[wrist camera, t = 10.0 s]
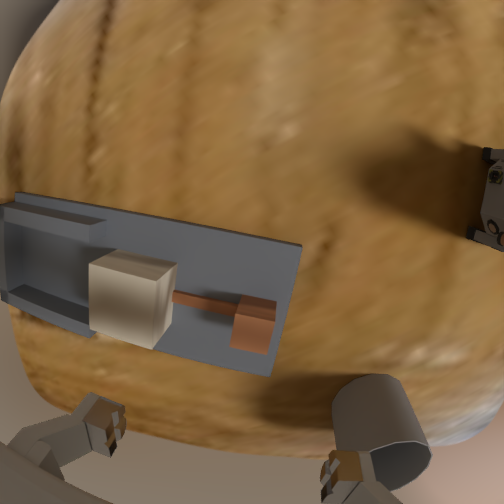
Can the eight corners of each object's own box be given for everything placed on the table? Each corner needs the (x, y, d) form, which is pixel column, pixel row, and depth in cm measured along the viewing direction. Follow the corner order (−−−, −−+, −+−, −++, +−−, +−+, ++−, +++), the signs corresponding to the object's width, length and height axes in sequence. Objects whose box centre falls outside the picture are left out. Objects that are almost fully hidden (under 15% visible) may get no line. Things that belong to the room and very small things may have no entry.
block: (118, 248, 28) (88, 263, 23) (280, 285, 27) (279, 309, 22) (115, 307, 29) (89, 329, 24) (266, 345, 28) (262, 377, 23)
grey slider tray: (20, 191, 28) (-4, 195, 25) (301, 244, 27) (304, 256, 23) (22, 296, 32) (2, 308, 28) (270, 371, 30) (268, 396, 26)
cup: (379, 434, 31) (396, 497, 21) (318, 422, 31) (324, 492, 22) (417, 381, 29) (449, 443, 19) (354, 365, 29) (374, 435, 19)
